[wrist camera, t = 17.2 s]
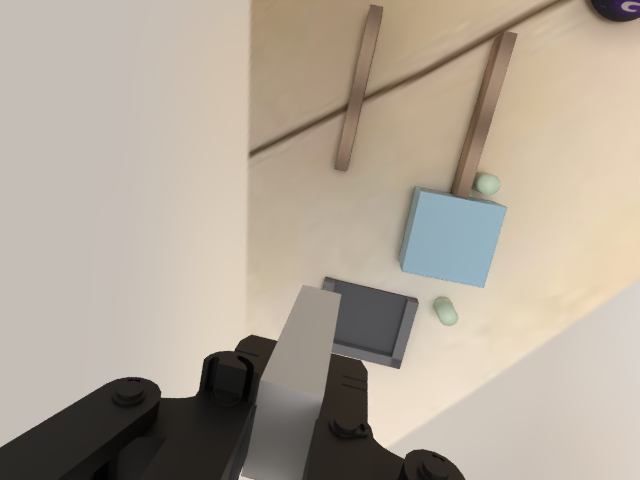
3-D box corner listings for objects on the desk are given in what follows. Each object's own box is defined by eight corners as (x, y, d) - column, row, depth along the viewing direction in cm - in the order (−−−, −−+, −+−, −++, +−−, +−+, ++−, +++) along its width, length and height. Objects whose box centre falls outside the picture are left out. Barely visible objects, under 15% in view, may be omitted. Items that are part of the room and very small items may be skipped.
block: (415, 186, 38) (420, 191, 34) (492, 201, 38) (507, 207, 34) (398, 259, 40) (402, 271, 36) (472, 273, 39) (483, 288, 35)
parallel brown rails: (370, 14, 35) (370, 4, 33) (506, 41, 34) (517, 33, 32) (336, 167, 38) (334, 168, 36) (461, 195, 38) (468, 198, 35)
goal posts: (473, 171, 37) (483, 173, 34) (492, 174, 37) (502, 177, 34) (432, 310, 40) (437, 323, 37) (448, 314, 40) (455, 327, 37)
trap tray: (325, 277, 41) (324, 281, 39) (416, 298, 40) (418, 303, 39) (311, 341, 42) (309, 346, 41) (398, 362, 42) (399, 369, 41)
